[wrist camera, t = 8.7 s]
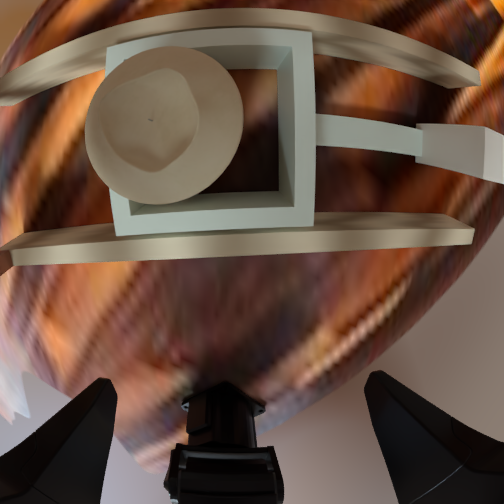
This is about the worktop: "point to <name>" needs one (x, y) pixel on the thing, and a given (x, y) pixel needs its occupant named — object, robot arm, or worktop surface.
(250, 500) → the robot arm
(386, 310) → the worktop surface
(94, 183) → the worktop surface
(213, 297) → the worktop surface
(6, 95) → the channel
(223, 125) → the candle
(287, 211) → the square frame with handle
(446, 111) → the worktop surface
